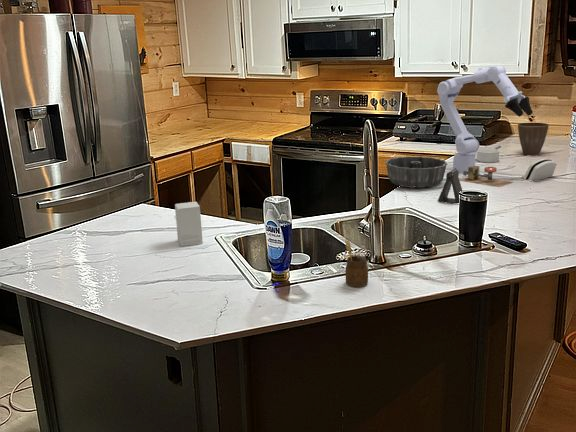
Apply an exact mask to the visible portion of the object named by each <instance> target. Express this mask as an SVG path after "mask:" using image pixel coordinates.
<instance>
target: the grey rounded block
mask: <svg viewBox="0 0 576 432" xmlns="http://www.w3.org/2000/svg"><path fill="white" fill-rule="evenodd" d="M556 168H557V163H556V161H553V160H552V159H550V158H540V159H538V160H536V161H534V162H531V163H530V164H529V166H528V168H527V170H526V172H525V174H524V175H522V176H521V177H520V178H521V179H524V180H528V181H529V183H531V182H535V181H539V180H544V179H547V178H551V177H553V175H554V172H555V170H556Z"/></svg>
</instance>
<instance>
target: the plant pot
mask: <svg viewBox="0 0 576 432" xmlns="http://www.w3.org/2000/svg"><path fill="white" fill-rule="evenodd" d="M549 125H550V124H549V123H545V122H521V123H518V124H517V130H518V132H517V133H518V138H519V143H520V147H521V151H522V153H523V155H524V154H525V155H524V156H526V155H538V156H540V153H541V152H542V148H543V146H544V144H545V141H546V137H547V134H548V130H549Z"/></svg>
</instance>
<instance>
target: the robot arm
mask: <svg viewBox="0 0 576 432" xmlns="http://www.w3.org/2000/svg"><path fill="white" fill-rule="evenodd" d="M473 82H475V84H483V83H488V82H492V83H493V84H494V85H495V86H496V88H497V89H498V90H499V91H500V93H501V95H502V97H504V98H503V99H502V100H503V102H504V104H505V105H504V107H505V108H506V109H508V110H511V112H513V113H514V114H515V115H516V116H517V117H519V118H520V117H521V116H523V115H524V113H525V115H527V116H529V117H530V116H531V115H533V113H534V112H533V110H532V106H531V103H530V98H529V96H525V95H523V91H519V90H518V89H517V87H516V86H515V85H514V83H513V82H512V81H511V79H510V78H509V76H508V75H507V71H506V69H505V67H504V66H502V65H496V66H492V65H491V66H488V67H487V68H486V67H485V68H483V67H480V68H478V69H477V70H474V72H473V74H467V75H462V76H456V77H453V78H450V79H446V80H445V81H441V82H439V84H438V86H437V90H436V93H437V94H438V97H439V105H440V106H441V109H442V111H443V113H444V114H445V116H446V119H447V121H448V123H449V125H450V127H451V129H452V130H453V133H454V136H455V137H456V138H455V140H454V144H455V148H456V151H457V153H455V154H454V156H453V160H452V170H454V171H455V170H458V172H459V173H462V174H463V171H468V167H471V166H476V157H477V150H478V149H480V142H479V141H478V139H476V137H474V134H471V132H468V129H467V127H466V125H465V124H464V121H463V120H462V118H461V115H460V114H459V112H458V110H457V108H456V106H455V104H454V102H455V100H456V98H457V97H458V95H459V93H460V91H461V89H462V88H463V86H464V85H465V84H468V83H473Z"/></svg>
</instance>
